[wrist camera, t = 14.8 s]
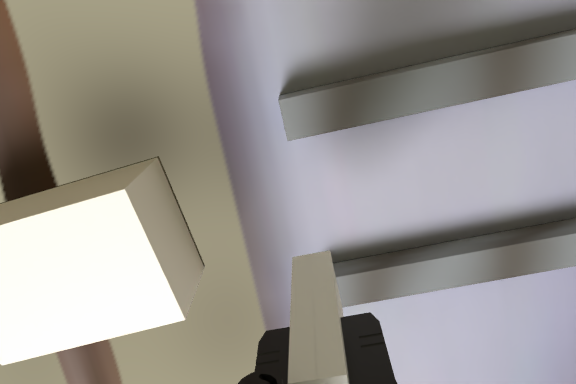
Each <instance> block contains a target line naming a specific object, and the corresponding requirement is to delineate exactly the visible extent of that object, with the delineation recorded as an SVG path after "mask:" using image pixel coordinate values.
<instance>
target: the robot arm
mask: <svg viewBox="0 0 576 384" xmlns="http://www.w3.org/2000/svg"><path fill="white" fill-rule="evenodd" d="M238 384H397V382H396V380H395V377H394V373H393V370H392V366H391V362H390V359H389V355H388V351H387V348H386V344H385V340H384V337H383V333H382V329H381V326H380V322H379V320H377V319H376V318H375V317H374V316H373V315H372V314H371V313H364V314H358V315H352V316H346V317H343V310H342V305H341V300H340V295H339V291H338V286H337V281H336V276H335V272H334V267H333V262H332V257H331V253H330V250H329V251H324V252H318V253H313V254H307V255H302V256H297V257H293V258H292V284H291V310H290V327H287V328H281V329H275V330H269V331H266V332H265V333H264V335H263V337H262V338H261V340H260V341H259V345H258V352H257V359H256V366H255V372H253V373H251V374H249V375H247V376H246V377H244V378H242V379H241V381H240V382H239V383H238Z"/></svg>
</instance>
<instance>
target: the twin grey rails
mask: <svg viewBox="0 0 576 384" xmlns="http://www.w3.org/2000/svg"><path fill="white" fill-rule="evenodd" d="M571 80H576V29H574V30H569V31H565V32H560V33H556V34H551V35H547V36H542V37H538V38H533V39H529V40H524V41H520V42H515V43H511V44H507V45H502V46H498V47H493V48H489V49H484V50H480V51H475V52H471V53H466V54H462V55H457V56H453V57H449V58H444V59H440V60H435V61H431V62H426V63H422V64H417V65H413V66H408V67H404V68H399V69H395V70H391V71H386V72H382V73H377V74H373V75H368V76H364V77H359V78H355V79H350V80H346V81H341V82H337V83H333V84H328V85H324V86H319V87H315V88H310V89H306V90H301V91H297V92H292V93H288V94H283V95H279V100H278V101H279V105H280V109H281V114H282V118H283V123H284V127H285V131H286V136H287V140H288V141H291V140H295V139H300V138H305V137H309V136H314V135H319V134H323V133H328V132H333V131H337V130H342V129H347V128H351V127H356V126H361V125H366V124H370V123H375V122H380V121H384V120H389V119H394V118H398V117H403V116H408V115H412V114H417V113H422V112H426V111H431V110H436V109H440V108H445V107H450V106H454V105H459V104H464V103H468V102H473V101H478V100H482V99H487V98H492V97H496V96H501V95H506V94H510V93H515V92H520V91H524V90H529V89H534V88H538V87H543V86H548V85H552V84H557V83H562V82H566V81H571ZM573 266H576V218H573V219H568V220H563V221H557V222H552V223H547V224H541V225H536V226H530V227H525V228H520V229H514V230H509V231H504V232H498V233H493V234H488V235H482V236H477V237H472V238H466V239H461V240H455V241H450V242H445V243H439V244H434V245H429V246H423V247H418V248H413V249H407V250H402V251H397V252H391V253H386V254H380V255H375V256H370V257H364V258H359V259H354V260H348V261H343V262H338V263H333V267H334V272H335V276H336V281H337V286H338V291H339V295H340V300H341V305H342V307H347V306H353V305H359V304H364V303H370V302H376V301H381V300H387V299H393V298H398V297H404V296H410V295H415V294H421V293H426V292H432V291H438V290H443V289H449V288H455V287H460V286H466V285H472V284H477V283H483V282H489V281H494V280H500V279H505V278H511V277H517V276H522V275H528V274H534V273H539V272H545V271H551V270H556V269H562V268H568V267H573Z"/></svg>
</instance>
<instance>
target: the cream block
mask: <svg viewBox="0 0 576 384" xmlns="http://www.w3.org/2000/svg"><path fill="white" fill-rule="evenodd" d="M204 268H205V265H204V262H203V260H202V257H201V255H200V253H199V250H198V248H197V245H196V243H195V241H194V238H193V236H192V234H191V231H190V229H189V226H188V224H187V222H186V219H185V217H184V215H183V212H182V210H181V208H180V205H179V203H178V200H177V198H176V196H175V193H174V191H173V189H172V186H171V184H170V181H169V179H168V177H167V174H166V172H165V170H164V167H163V165H162V163H161V160H160V158H159V156H157V157H154V158H151V159H147V160H144V161H140V162H137V163H134V164H130V165H127V166H124V167H120V168H117V169H114V170H110V171H107V172H104V173H100V174H97V175H93V176H90V177H86V178H83V179H80V180H77V181H73V182H70V183H66V184H63V185H60V186H58V187H56V188H52V189H49V190H45V191H42V192H39V193H35V194H32V195H29V196H25V197H22V198H18V199H15V200H12V201H8V202H2V203H0V364H1V365H5V364H10V363H13V362H18V361H22V360H26V359H30V358H34V357H37V356H42V355H46V354H49V353H54V352H58V351H62V350H66V349H70V348H74V347H78V346H82V345H86V344H90V343H94V342H98V341H102V340H106V339H110V338H114V337H118V336H122V335H126V334H130V333H134V332H138V331H142V330H146V329H150V328H154V327H158V326H162V325H166V324H170V323H175V322H179V321H183V320H185V319H186V317H187V314H188V311H189V308H190V306H191V303H192V300H193V298H194V295H195V292H196V289H197V287H198V284H199V281H200V278H201V275H202V273H203V270H204Z"/></svg>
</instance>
